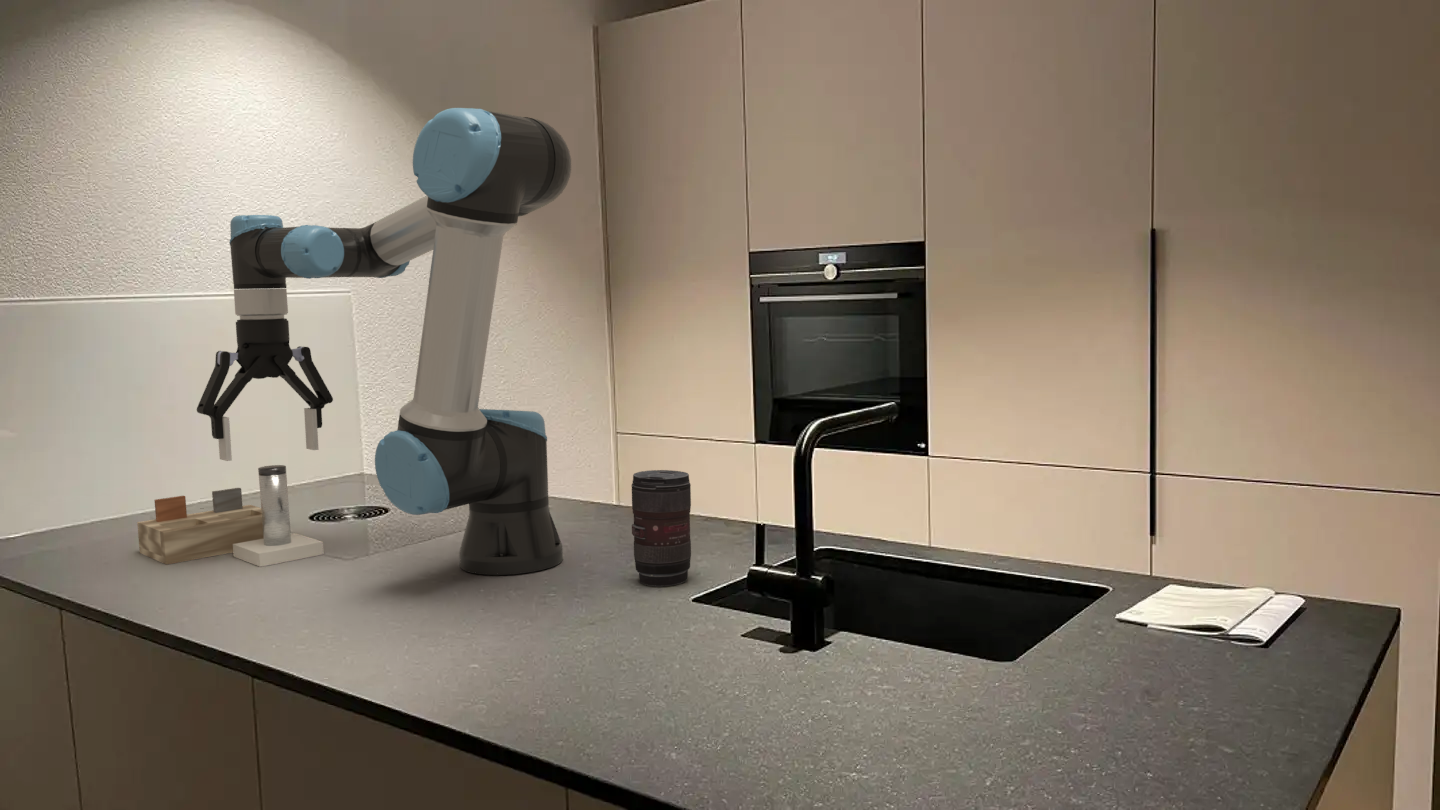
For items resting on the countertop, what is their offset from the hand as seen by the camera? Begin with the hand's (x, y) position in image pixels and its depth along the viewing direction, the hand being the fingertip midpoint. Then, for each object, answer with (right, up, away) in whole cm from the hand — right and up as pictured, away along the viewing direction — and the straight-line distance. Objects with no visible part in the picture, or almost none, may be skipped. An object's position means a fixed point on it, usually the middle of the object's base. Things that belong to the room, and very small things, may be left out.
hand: (270, 454), depth 174 cm
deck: (+1, -16, +2) cm, 16 cm away
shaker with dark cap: (+1, -14, +1) cm, 14 cm away
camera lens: (+62, -17, -19) cm, 67 cm away
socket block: (-13, -16, +8) cm, 22 cm away
